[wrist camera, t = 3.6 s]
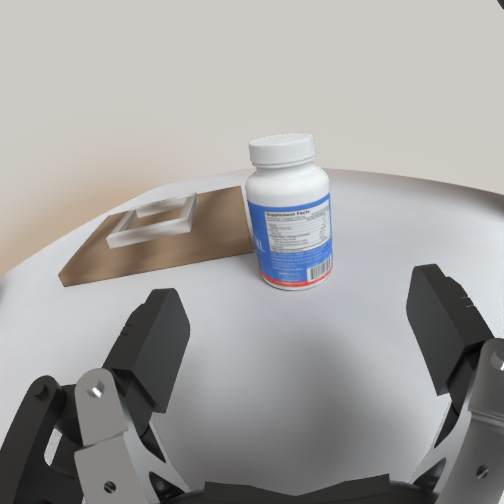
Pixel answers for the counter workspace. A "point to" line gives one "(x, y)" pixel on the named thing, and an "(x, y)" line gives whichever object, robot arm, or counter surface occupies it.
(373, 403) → the counter surface
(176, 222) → the walnut board
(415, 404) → the counter surface
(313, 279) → the pill bottle
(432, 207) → the counter surface
